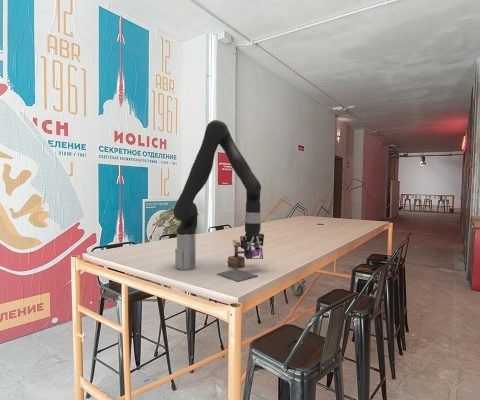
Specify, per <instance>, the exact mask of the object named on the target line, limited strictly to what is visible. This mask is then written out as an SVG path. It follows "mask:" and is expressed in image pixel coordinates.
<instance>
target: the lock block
mask: <svg viewBox="0 0 480 400" xmlns="http://www.w3.org/2000/svg"><path fill="white" fill-rule="evenodd" d="M245 260H246V257H245V256H242V255H238V257H235V255H230V256H228V257H227V267H228V268H231V269H233V270H234V269H238V270H239V269H242V268H245V267H246V265H245V262H246V261H245Z"/></svg>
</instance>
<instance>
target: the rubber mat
mask: <svg viewBox="0 0 480 400" xmlns="http://www.w3.org/2000/svg"><path fill="white" fill-rule="evenodd" d="M216 275H217V276H220V277H222V278H225V279H228V280H231V281H234V282H237V283H240V282H242V281H243V282H244V281H247V280H250V279H254V278H258V275H257V274H253V273H250V272H248V271H244V270H241V269H239V268H238V269H234V268H233V269H230V270H226V271H221V272H218V273H217V272H216Z"/></svg>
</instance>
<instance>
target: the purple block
mask: <svg viewBox="0 0 480 400" xmlns="http://www.w3.org/2000/svg"><path fill="white" fill-rule="evenodd" d="M247 246H248V245H247ZM247 246H246V247H247ZM252 247H253V248H254V249H252ZM258 247H259V248H260V253H259V257H257V254H258V252H259V251H258V250H257V249H255V248H258ZM245 252H246V251H245ZM245 254H246V253H245ZM263 259H264V253H263V246H262V245H255V244H251V246H250V247H249V255H246V257H245V260H263Z"/></svg>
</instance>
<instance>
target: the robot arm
mask: <svg viewBox="0 0 480 400" xmlns="http://www.w3.org/2000/svg"><path fill="white" fill-rule="evenodd" d="M236 145H237V144H236V143H235V142H234V139H233V137H232V135H231V133H230V130H229V128H228V125H227V124H226V123H225V122H223V121H221V120H220V119H219V120H218V119H213V120H211V121H210V122H209V123H208V124H207V125H206V129H205V132H204V135H203V139H202V142H201V145H200V148H199V150H198V152H197V154H196V157H195V160H194V161H193V164H192V166H191V169H190V171H189V174H188V177H187V178H186V181H185V184H184V187H183V189H182V191H181V194H179V197H178V199H177V201H176V203H175V205H174V208H173V216H174V217H175V219H176V220H178V221H180V224H179V226H178V227H177V229H176V248H175V249H174V251H175V256H174V257H175V259H174V260H175V261H174V262H175V264H174V265H175V266H174V267H175V269H177V270H180V271H188V270H189V271H190V270H194V269H196V267H197V265H196V264H197V261H196V260H197V258H196V257H197V256H196V251H197V250H196V249H197V247H196V246H197V244H196V243H197V242H196V239H197V236H196V235H197V233H196V230H197V228H198V215H199V214H198V207H197V205H196V203H195V202H194V201H195V198H196V197H197V195H198V194H199V192H200V191H201V190H202V189H203V188H204V187H205V185H206V184H207V182H208V180H209V178H210V175H211V172H212V170H213V166H214V159H215V155H216V152H217V149H218V147H219V146H220V147H221V149H222V150H223V151H224V153H225V155H226V157H227V159H228V161H229V164H230V166H231V168H232V170H233V171H234V172H235V174H236V175H237V177H238V178H239V179H240V182H241V183H242V184H243V185H242V186H244V189H245V190H246V194H245V195H246V202H245V215H244V231H245V235H240V238H239V239H240V241H239V242H240V249H243V251H244V253H243V257H245V258H246V255H249V247H250V246H251V245H262V247H264V241H265V240H264V239H265V233H260V232H261V226H262V225H261V223H262V220H261V219H262V216H261V192H262V191H261V190H262V184H261V182H260V181H259V180H258V179H257V177H256V175H255V174H254V172H253V171H252V169H251V167H250V165H249V164H248V162H247V160H246V159H245V158H244V156H243V154H242V153H241V151H240V150H239V149H238V147H237V146H236ZM247 245H248V246H247ZM246 246H247V247H246ZM251 247H252V246H251ZM254 249H257V250H258V251H259V252H258V254H257V256H259V257H260V248H259V247H258V248H254ZM245 251H246V252H245ZM245 253H246V254H245ZM257 256H256V257H257Z"/></svg>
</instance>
